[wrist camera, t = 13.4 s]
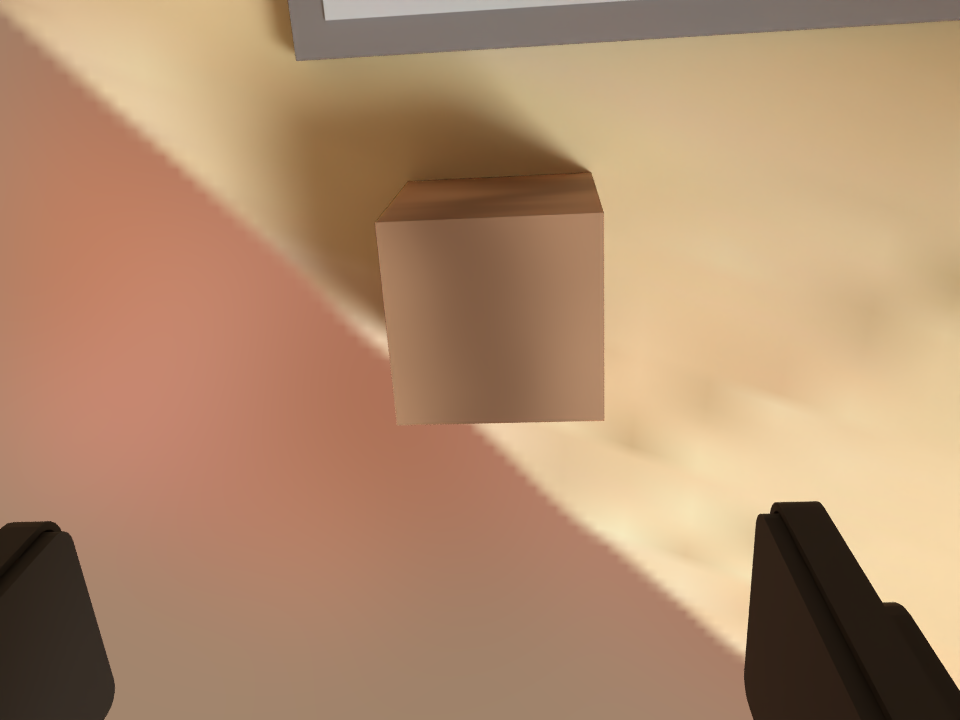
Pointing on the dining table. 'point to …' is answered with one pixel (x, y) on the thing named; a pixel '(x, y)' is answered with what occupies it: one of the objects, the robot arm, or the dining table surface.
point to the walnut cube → (495, 299)
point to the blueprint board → (569, 21)
